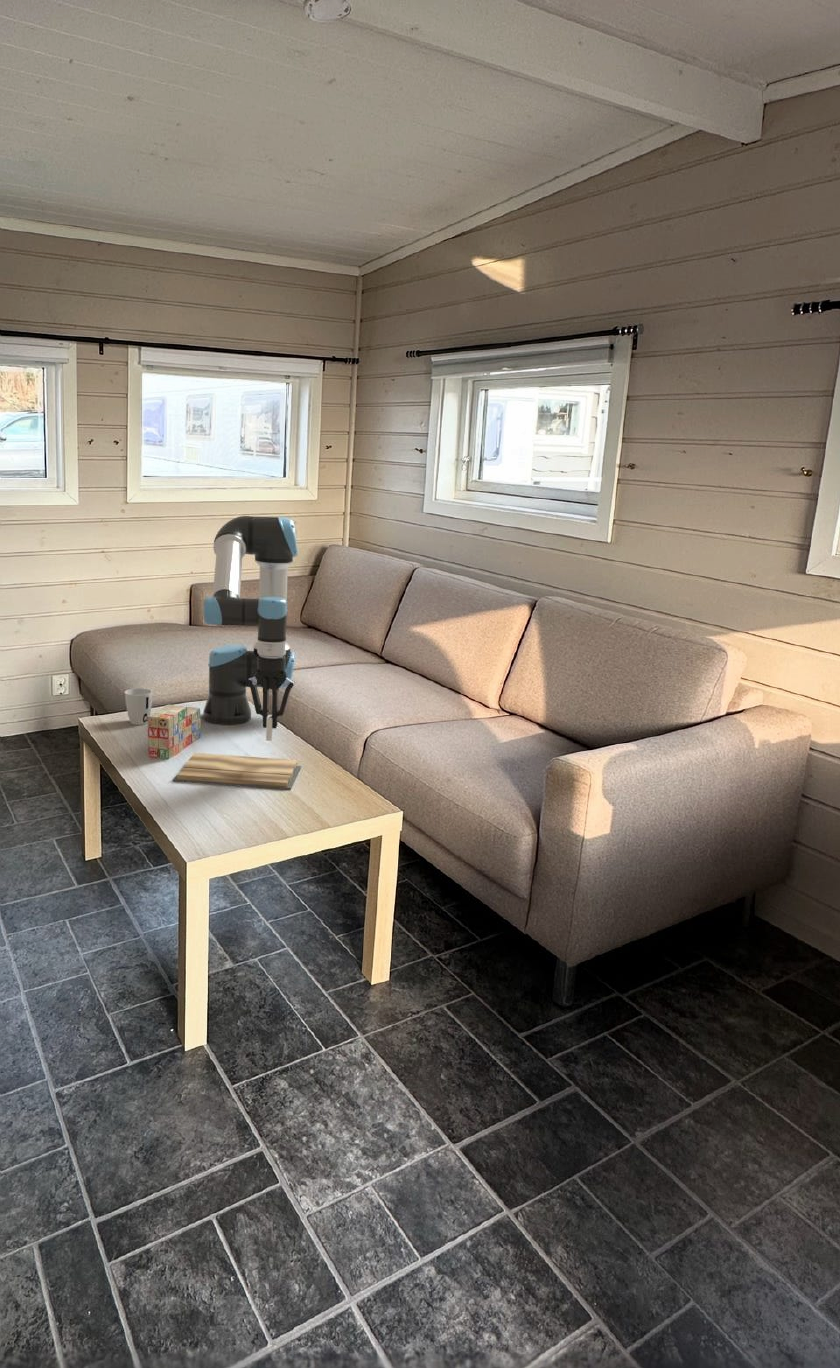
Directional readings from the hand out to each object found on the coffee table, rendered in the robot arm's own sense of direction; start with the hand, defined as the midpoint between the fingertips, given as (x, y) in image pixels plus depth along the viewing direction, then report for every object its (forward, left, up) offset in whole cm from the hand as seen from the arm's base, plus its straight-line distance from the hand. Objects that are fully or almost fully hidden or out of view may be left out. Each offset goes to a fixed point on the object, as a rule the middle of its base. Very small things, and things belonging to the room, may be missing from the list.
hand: (269, 739), depth 249 cm
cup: (-32, -47, -9) cm, 58 cm away
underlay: (+6, -7, -9) cm, 13 cm away
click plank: (+3, -7, -8) cm, 11 cm away
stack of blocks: (-12, -30, -9) cm, 33 cm away
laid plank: (+11, -7, -9) cm, 16 cm away
